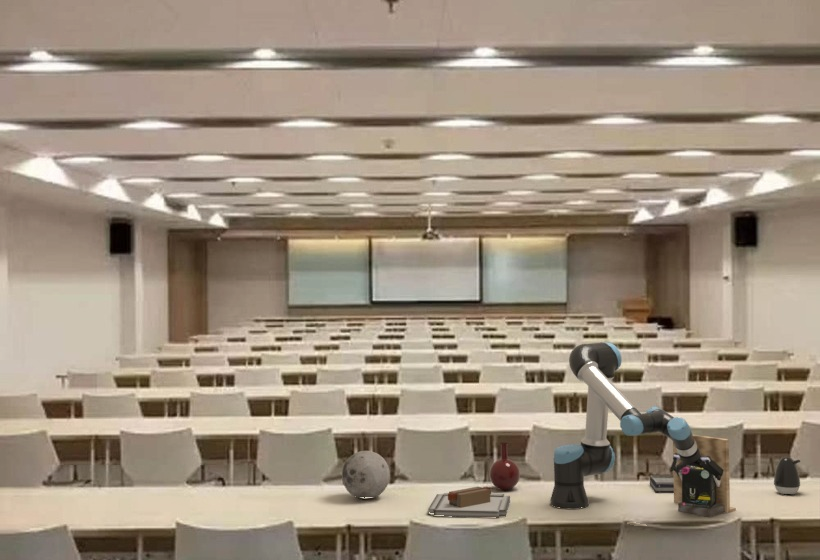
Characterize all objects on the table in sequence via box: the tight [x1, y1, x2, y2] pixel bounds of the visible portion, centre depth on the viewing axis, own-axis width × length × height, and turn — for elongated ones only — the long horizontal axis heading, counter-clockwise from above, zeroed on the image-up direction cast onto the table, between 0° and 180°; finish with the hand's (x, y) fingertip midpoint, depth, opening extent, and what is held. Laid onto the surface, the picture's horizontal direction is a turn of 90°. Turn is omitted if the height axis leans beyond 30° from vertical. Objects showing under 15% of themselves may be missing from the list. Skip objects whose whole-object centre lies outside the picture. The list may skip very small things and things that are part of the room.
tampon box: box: [682, 465, 716, 508], centre depth 386 cm, size 11×9×15 cm
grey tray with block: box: [427, 486, 511, 519], centre depth 400 cm, size 30×30×8 cm
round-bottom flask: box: [489, 442, 521, 491], centre depth 433 cm, size 13×13×20 cm
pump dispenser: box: [773, 456, 801, 495], centre depth 415 cm, size 10×10×15 cm
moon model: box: [341, 450, 391, 498], centre depth 421 cm, size 20×20×20 cm
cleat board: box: [672, 434, 737, 518], centre depth 392 cm, size 24×16×28 cm, turn 40°
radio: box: [649, 474, 674, 494], centre depth 429 cm, size 24×5×20 cm
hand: (701, 482), depth 388 cm, fingers open, 13 cm apart
